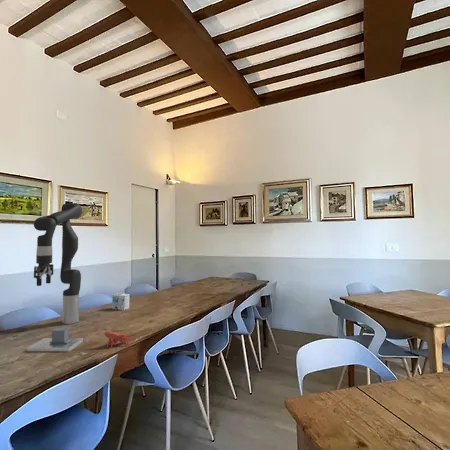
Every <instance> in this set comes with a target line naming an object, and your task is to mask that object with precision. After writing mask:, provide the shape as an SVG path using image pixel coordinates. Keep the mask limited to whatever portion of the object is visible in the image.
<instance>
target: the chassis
mask: <svg viewBox="0 0 450 450" xmlns="http://www.w3.org/2000/svg"><path fill="white" fill-rule="evenodd" d="M68 339H71V341H69V342H68V343H66V344H65V345H54V344H52V343H49V342H50V341H52V337H43V338H42V339H40V340H38V341H36V342H34V343H32V344H30V345H28V346H27V347H26V352H61V353H62V352H68V353H69V352H71V351H72V350H73V349H75V348H76V347H78V346H79V345H80V344H82V343H83V341H84V338H83V337H68Z"/></svg>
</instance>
